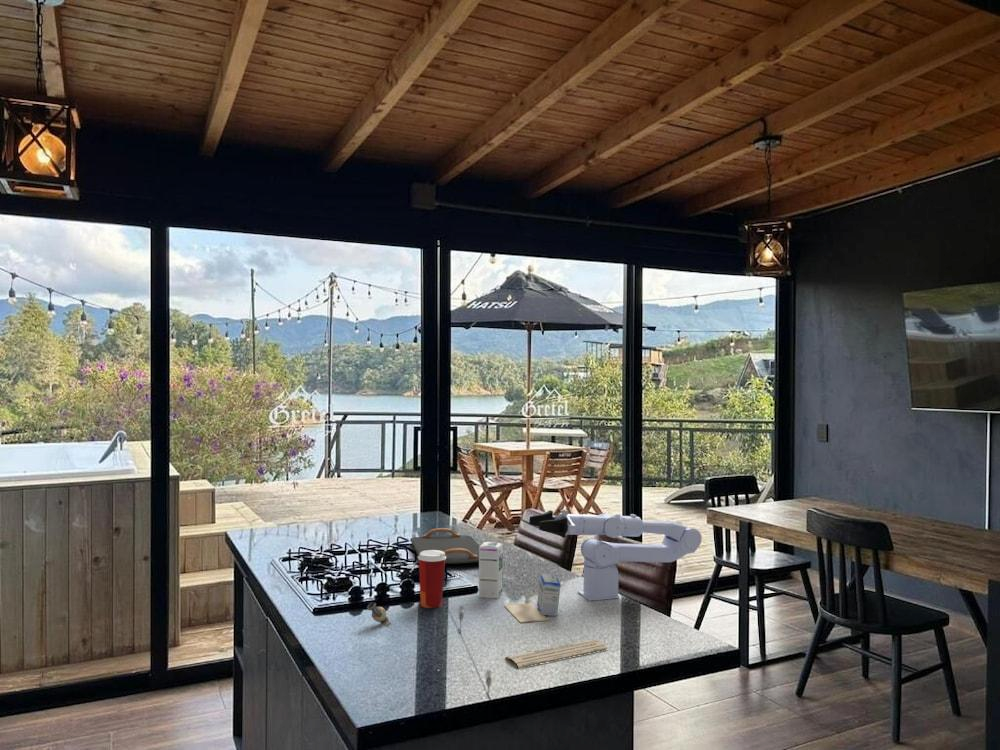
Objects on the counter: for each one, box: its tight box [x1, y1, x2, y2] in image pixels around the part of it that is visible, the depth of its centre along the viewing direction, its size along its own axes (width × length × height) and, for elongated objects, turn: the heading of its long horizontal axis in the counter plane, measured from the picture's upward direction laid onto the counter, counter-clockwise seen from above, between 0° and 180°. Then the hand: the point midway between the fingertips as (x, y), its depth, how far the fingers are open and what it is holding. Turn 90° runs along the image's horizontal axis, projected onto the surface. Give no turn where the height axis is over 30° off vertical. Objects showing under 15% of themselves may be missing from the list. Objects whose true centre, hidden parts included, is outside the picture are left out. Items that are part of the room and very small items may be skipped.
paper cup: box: [417, 550, 446, 609], centre depth 191 cm, size 8×8×14 cm
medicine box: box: [536, 573, 561, 617], centre depth 188 cm, size 8×4×9 cm, turn 5°
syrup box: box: [478, 541, 504, 600], centre depth 201 cm, size 6×6×14 cm
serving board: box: [410, 527, 481, 565], centre depth 245 cm, size 39×23×6 cm, turn 14°
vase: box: [366, 601, 393, 627], centre depth 175 cm, size 5×5×6 cm
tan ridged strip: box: [504, 638, 609, 670], centre depth 159 cm, size 24×7×2 cm, turn 119°
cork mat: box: [504, 602, 549, 624], centre depth 186 cm, size 8×13×1 cm, turn 18°
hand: (534, 523), depth 196 cm, fingers open, 7 cm apart
